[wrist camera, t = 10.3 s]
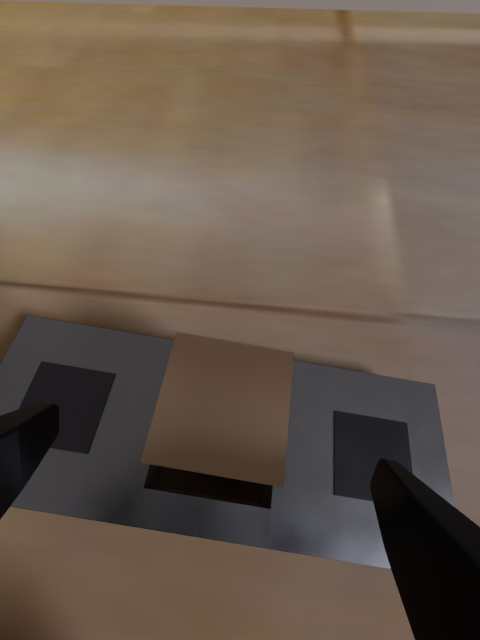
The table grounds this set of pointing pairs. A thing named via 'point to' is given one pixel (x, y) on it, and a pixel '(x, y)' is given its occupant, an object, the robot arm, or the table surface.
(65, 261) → the table surface
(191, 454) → the walnut peg
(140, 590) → the table surface
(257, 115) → the table surface
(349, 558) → the grey slotted board
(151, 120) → the table surface
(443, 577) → the robot arm
